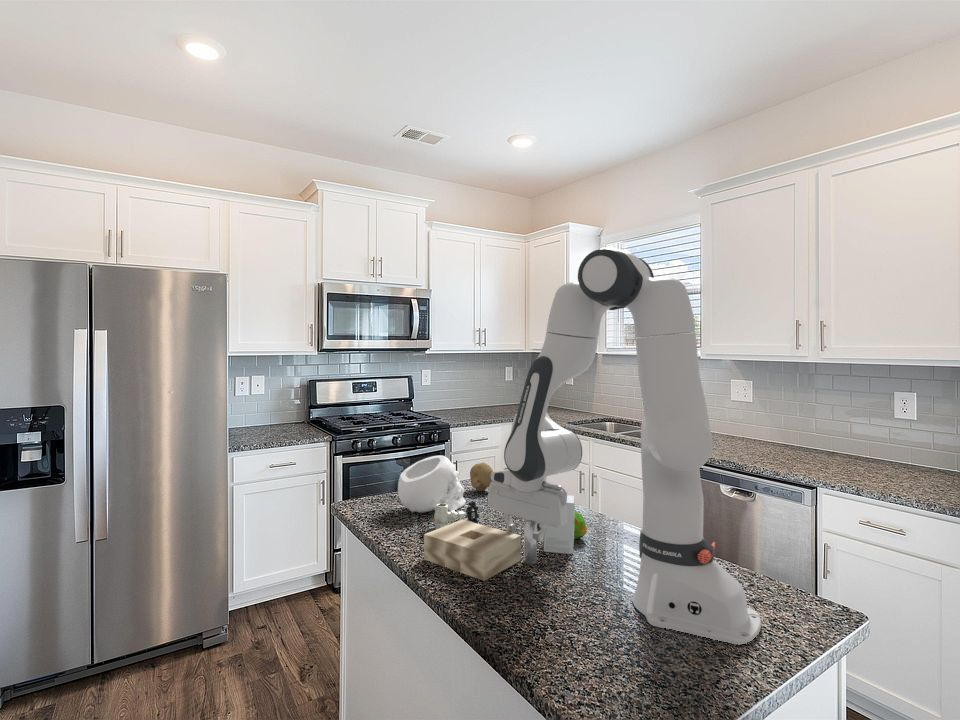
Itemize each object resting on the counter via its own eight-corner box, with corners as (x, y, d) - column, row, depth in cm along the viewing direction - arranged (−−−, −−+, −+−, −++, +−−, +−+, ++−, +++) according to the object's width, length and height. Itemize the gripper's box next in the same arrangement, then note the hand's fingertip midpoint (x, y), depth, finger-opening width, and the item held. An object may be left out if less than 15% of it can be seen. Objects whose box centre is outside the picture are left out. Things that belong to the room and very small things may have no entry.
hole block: (520, 560, 123) (520, 535, 123) (484, 580, 112) (484, 553, 112) (462, 542, 134) (462, 519, 134) (423, 559, 123) (424, 534, 123)
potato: (497, 488, 187) (497, 461, 187) (493, 495, 178) (493, 466, 178) (472, 487, 188) (472, 459, 188) (467, 493, 180) (467, 465, 180)
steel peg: (538, 561, 123) (539, 519, 123) (532, 565, 120) (532, 522, 120) (528, 558, 125) (528, 516, 125) (521, 561, 122) (521, 519, 122)
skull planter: (481, 503, 162) (456, 451, 158) (429, 542, 154) (401, 489, 149) (460, 492, 174) (437, 444, 170) (411, 529, 166) (385, 479, 161)
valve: (438, 533, 141) (479, 528, 146) (438, 509, 141) (479, 504, 146) (430, 525, 147) (470, 520, 152) (431, 502, 147) (470, 498, 152)
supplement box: (573, 554, 127) (574, 503, 127) (543, 552, 129) (543, 501, 128) (574, 543, 134) (575, 495, 134) (545, 541, 136) (546, 493, 136)
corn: (572, 516, 132) (528, 496, 150) (570, 546, 132) (526, 523, 150) (595, 514, 136) (549, 495, 153) (593, 543, 136) (547, 521, 153)
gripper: (573, 484, 119) (570, 544, 119) (500, 467, 131) (497, 521, 132) (560, 490, 114) (557, 552, 114) (485, 472, 126) (482, 528, 127)
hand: (524, 535), depth 123 cm, fingers open, 6 cm apart
